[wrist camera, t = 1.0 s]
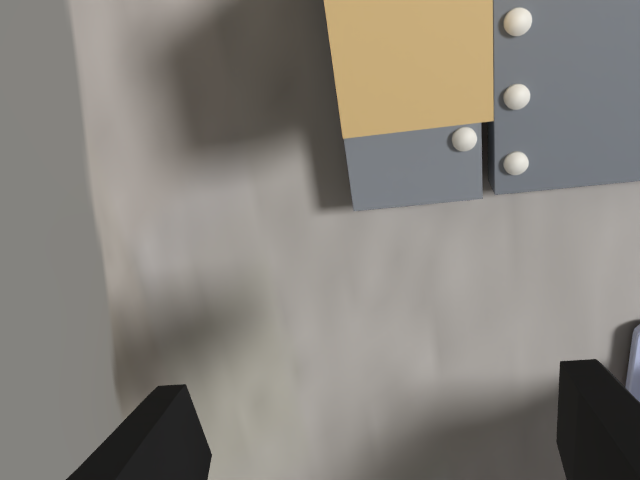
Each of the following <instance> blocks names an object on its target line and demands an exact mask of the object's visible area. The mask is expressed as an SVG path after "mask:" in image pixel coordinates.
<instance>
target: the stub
mask: <svg viewBox="0 0 640 480" xmlns="http://www.w3.org/2000/svg"><path fill="white" fill-rule="evenodd" d="M324 6H325V13H326V20H327V28H328V35H329V42H330V49H331V56H332V64H333V71H334V78H335V85H336V93H337V100H338V107H339V114H340V122H341V129H342V136H343V139H344V144H345V151H346V158H347V166H348V173H349V180H350V188H351V195H352V202H353V209H354V211H361V210H371V209H381V208H392V207H402V206H413V205H423V204H434V203H444V202H454V201H465V200H475V199H483V191H482V134H481V123H482V122H490V121H494V99H493V0H324Z"/></svg>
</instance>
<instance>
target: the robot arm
mask: <svg viewBox="0 0 640 480" xmlns="http://www.w3.org/2000/svg"><path fill="white" fill-rule="evenodd" d="M557 445H558V449H559V453H560V456H561V460H562V464H563V468H564V471H565V475H566V478H567V480H640V324H639V325H638V326H637V327H636V328H635V329H634V331H633V335H632V343H631V350H630V357H629V364H628V372H627V379H626V386H625V387H624V386H623V385H622V384H621V383H620V382H619V381H618V380H617V379H616V378H615V377H614V376H613V375H612V374H611V373H610V372H609V371H608V370H607V369H606V368H605V367H604V366H603V365H602V364H601V363H600V362H599V361H598V360H596V359H591V360H575V361H560V376H559V398H558V420H557ZM211 457H212V454H211V451H210V448H209V446H208V443H207V440H206V438H205V435H204V432H203V429H202V427H201V424H200V421H199V419H198V416H197V413H196V410H195V408H194V405H193V402H192V400H191V397H190V394H189V391H188V389H187V386H186V384H184V385H167V386H158V387H157V388H155V389H154V390H153V391H152V392H151V393H150V394H149V395H148V396H147V397H146V398H145V399H144V400H143V401H142V402H141V403H140V405H139V406H138V407H137V408H136V409H135V410H134V411H133V412H132V413H131V414H130V415H129V416H128V417H127V418H126V419H125V420H124V421H123V422H122V423H121V424H120V425H119V427H118V428H117V429H116V430H115V431H114V432H113V433H112V434H111V435H110V436H109V437H108V438H107V439H106V440H105V441H104V442H103V443H102V444H101V445H100V446H99V447H98V448H97V449H96V450H95V451H94V452H93V453H92V454H91V455H90V456H89V457H88V458H87V460H86V461H84V462H83V464H82V465H81V466H80V467H79V468H78V469H77V470H76V471H75V472H74V473H73V474H71V475H70V476H69V477H68V478H67V479H66V480H207V479H208V473H209V468H210V462H211Z"/></svg>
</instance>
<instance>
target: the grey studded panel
mask: <svg viewBox="0 0 640 480" xmlns="http://www.w3.org/2000/svg"><path fill="white" fill-rule="evenodd" d="M493 99H494V121H490V122H488V180H489V183H490V185H491V187H492V189H493V192H494V194H495V195H498V194H509V193H519V192H529V191H540V190H550V189H560V188H571V187H581V186H591V185H602V184H612V183H622V182H633V181H640V0H493Z"/></svg>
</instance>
